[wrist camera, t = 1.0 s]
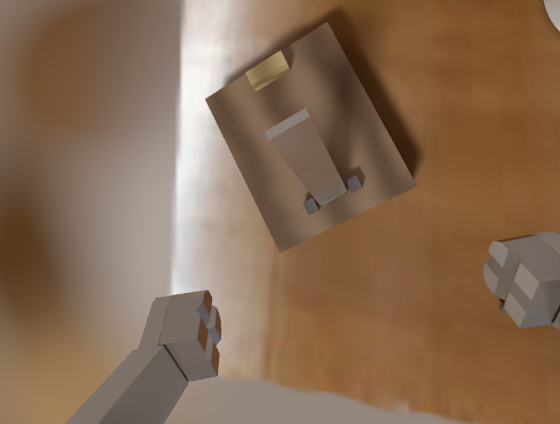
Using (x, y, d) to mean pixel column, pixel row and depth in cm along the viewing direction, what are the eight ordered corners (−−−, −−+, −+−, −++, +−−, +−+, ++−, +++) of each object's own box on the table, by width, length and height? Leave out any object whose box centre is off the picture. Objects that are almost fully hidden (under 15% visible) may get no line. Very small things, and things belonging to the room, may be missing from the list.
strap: (305, 107, 22) (310, 117, 22) (344, 186, 35) (348, 193, 35) (264, 131, 23) (268, 140, 22) (318, 200, 36) (321, 207, 35)
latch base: (330, 40, 39) (325, 11, 34) (410, 188, 37) (420, 184, 32) (218, 109, 42) (197, 93, 37) (287, 248, 40) (276, 255, 35)
